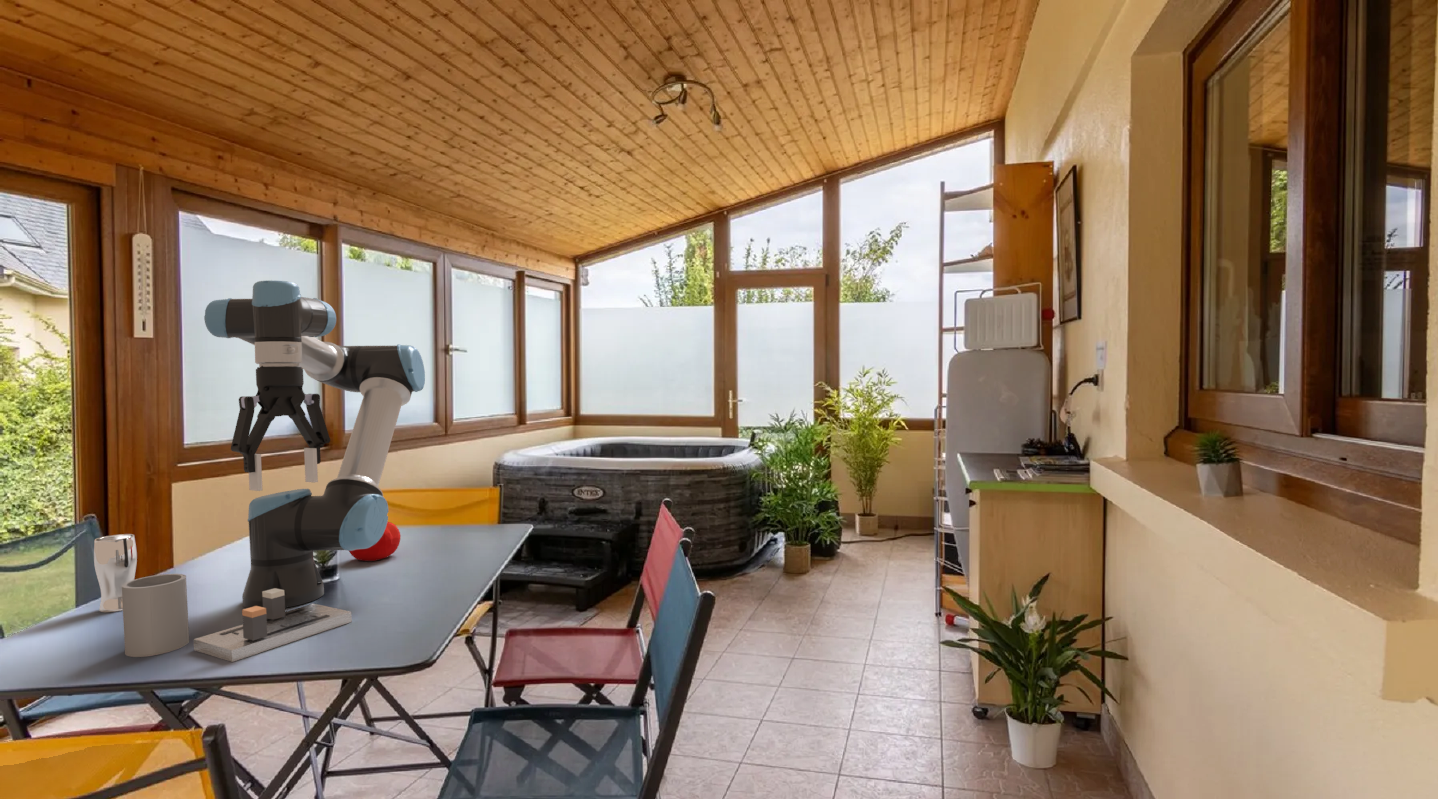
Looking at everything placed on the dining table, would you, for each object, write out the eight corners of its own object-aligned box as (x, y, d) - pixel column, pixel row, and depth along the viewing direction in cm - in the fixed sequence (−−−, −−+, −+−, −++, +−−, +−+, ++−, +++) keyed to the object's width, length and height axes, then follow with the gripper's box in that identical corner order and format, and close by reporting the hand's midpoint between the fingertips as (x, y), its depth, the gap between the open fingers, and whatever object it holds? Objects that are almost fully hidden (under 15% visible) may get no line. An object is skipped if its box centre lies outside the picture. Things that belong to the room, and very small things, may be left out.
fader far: (263, 617, 140) (262, 591, 140) (276, 613, 142) (274, 588, 142) (272, 619, 139) (271, 593, 139) (285, 616, 141) (284, 590, 141)
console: (194, 650, 130) (193, 638, 130) (313, 613, 150) (313, 603, 150) (232, 662, 125) (231, 649, 125) (351, 621, 144) (351, 611, 144)
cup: (117, 660, 126) (113, 591, 126) (134, 642, 135) (131, 577, 134) (181, 651, 130) (178, 583, 130) (194, 634, 138) (191, 571, 138)
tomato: (343, 559, 194) (341, 520, 193) (393, 550, 202) (392, 513, 202) (357, 567, 185) (355, 526, 185) (408, 557, 194) (407, 518, 194)
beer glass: (146, 605, 157) (142, 535, 157) (108, 615, 151) (104, 542, 151) (127, 601, 160) (124, 532, 160) (89, 611, 154) (85, 539, 153)
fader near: (243, 637, 130) (242, 609, 129) (257, 633, 132) (256, 605, 131) (253, 640, 128) (252, 612, 128) (267, 636, 130) (266, 608, 130)
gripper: (226, 365, 125) (232, 496, 126) (348, 365, 144) (352, 478, 145) (202, 366, 128) (208, 494, 129) (324, 365, 148) (328, 476, 149)
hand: (284, 485), depth 137 cm, fingers open, 10 cm apart
